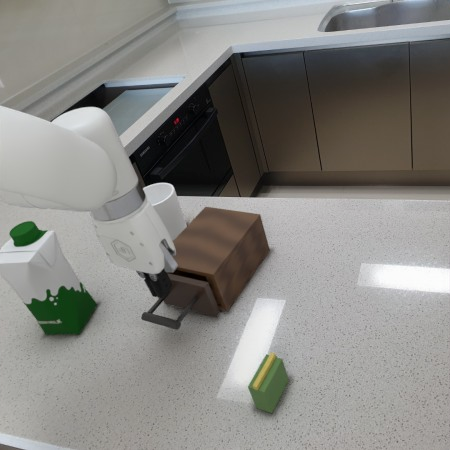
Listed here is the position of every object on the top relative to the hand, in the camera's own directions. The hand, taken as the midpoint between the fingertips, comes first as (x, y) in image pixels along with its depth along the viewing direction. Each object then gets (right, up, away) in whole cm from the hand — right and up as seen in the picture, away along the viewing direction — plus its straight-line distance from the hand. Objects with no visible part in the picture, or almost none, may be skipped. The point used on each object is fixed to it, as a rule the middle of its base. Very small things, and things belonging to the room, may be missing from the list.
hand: (163, 291), depth 74 cm
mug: (-8, +9, +29) cm, 31 cm away
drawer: (+4, -2, +10) cm, 11 cm away
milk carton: (-20, -7, +11) cm, 24 cm away
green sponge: (+18, -14, -8) cm, 24 cm away
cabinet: (+7, +1, +15) cm, 16 cm away
